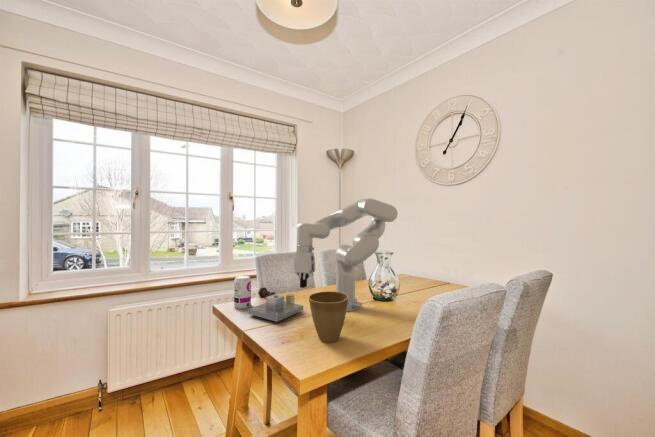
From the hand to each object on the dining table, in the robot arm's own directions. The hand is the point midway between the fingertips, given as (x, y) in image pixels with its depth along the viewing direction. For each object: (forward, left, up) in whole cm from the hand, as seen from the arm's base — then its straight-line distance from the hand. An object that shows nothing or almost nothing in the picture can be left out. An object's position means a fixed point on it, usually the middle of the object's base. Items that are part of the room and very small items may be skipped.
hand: (303, 287), depth 135 cm
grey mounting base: (+9, +8, -12) cm, 17 cm away
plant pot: (-25, +17, -12) cm, 33 cm away
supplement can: (+31, +10, -12) cm, 35 cm away
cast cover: (+9, +10, -9) cm, 16 cm away
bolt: (+29, -7, -13) cm, 32 cm away
